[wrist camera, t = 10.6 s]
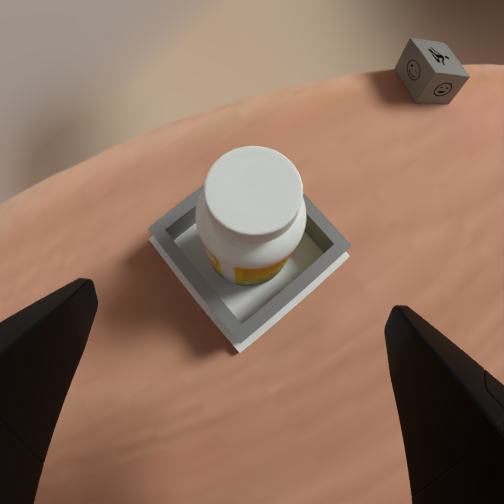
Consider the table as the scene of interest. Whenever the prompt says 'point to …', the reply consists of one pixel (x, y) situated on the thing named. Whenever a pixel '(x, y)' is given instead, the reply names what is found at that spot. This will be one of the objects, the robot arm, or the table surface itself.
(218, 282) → the tray
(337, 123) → the table surface
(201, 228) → the supplement bottle
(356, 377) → the table surface
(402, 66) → the dice cube
